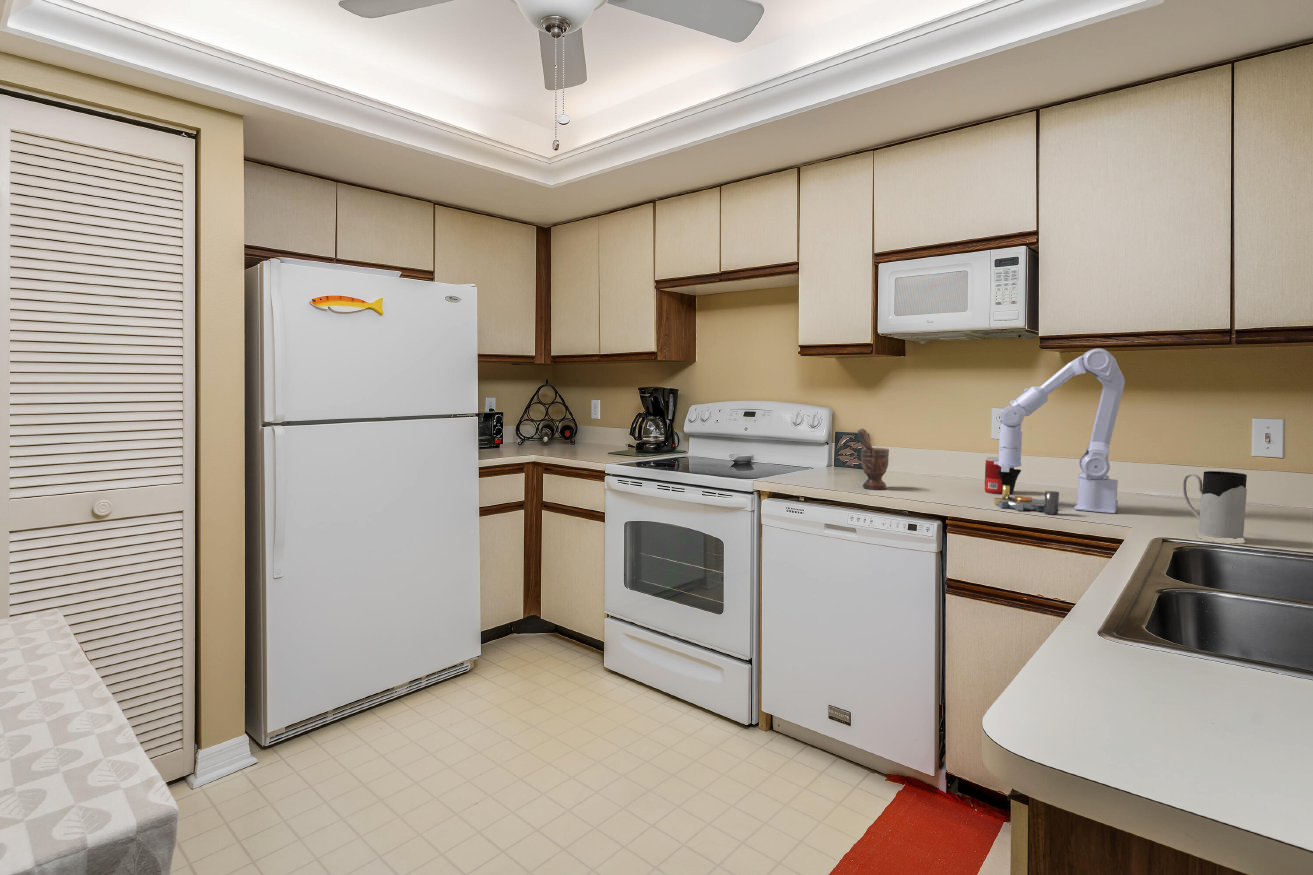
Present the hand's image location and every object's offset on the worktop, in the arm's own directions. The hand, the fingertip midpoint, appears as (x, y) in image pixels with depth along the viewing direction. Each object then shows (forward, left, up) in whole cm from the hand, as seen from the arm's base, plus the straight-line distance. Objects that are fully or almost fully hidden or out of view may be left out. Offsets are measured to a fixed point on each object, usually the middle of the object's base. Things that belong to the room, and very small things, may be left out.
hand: (1008, 494), depth 199 cm
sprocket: (-5, +4, -3) cm, 7 cm away
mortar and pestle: (+40, -3, -3) cm, 41 cm away
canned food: (+5, -19, -3) cm, 20 cm away
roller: (-12, +11, -3) cm, 16 cm away
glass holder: (-45, +19, -3) cm, 49 cm away
